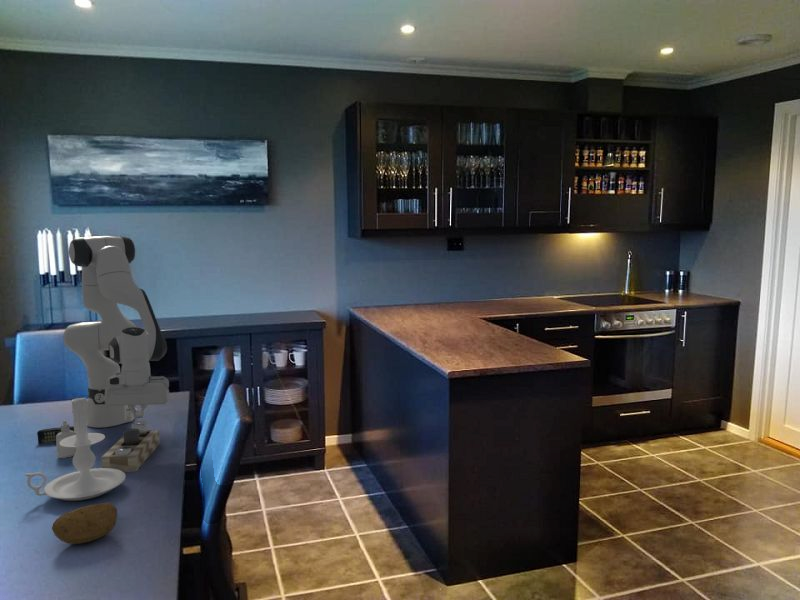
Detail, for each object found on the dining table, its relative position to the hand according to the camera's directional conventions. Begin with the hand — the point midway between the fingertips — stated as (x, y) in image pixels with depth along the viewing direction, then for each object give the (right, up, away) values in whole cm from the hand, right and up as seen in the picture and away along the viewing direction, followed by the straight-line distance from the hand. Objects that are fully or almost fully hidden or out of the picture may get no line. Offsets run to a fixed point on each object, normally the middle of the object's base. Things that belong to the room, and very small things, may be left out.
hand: (138, 417), depth 209 cm
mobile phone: (-31, -11, +10) cm, 34 cm away
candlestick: (-3, -16, -34) cm, 37 cm away
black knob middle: (+1, -8, -7) cm, 11 cm away
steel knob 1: (+1, -12, -14) cm, 19 cm away
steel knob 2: (0, -7, +1) cm, 7 cm away
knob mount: (+1, -12, -6) cm, 13 cm away
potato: (+12, -19, -59) cm, 63 cm away
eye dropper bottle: (-22, -12, -4) cm, 25 cm away
